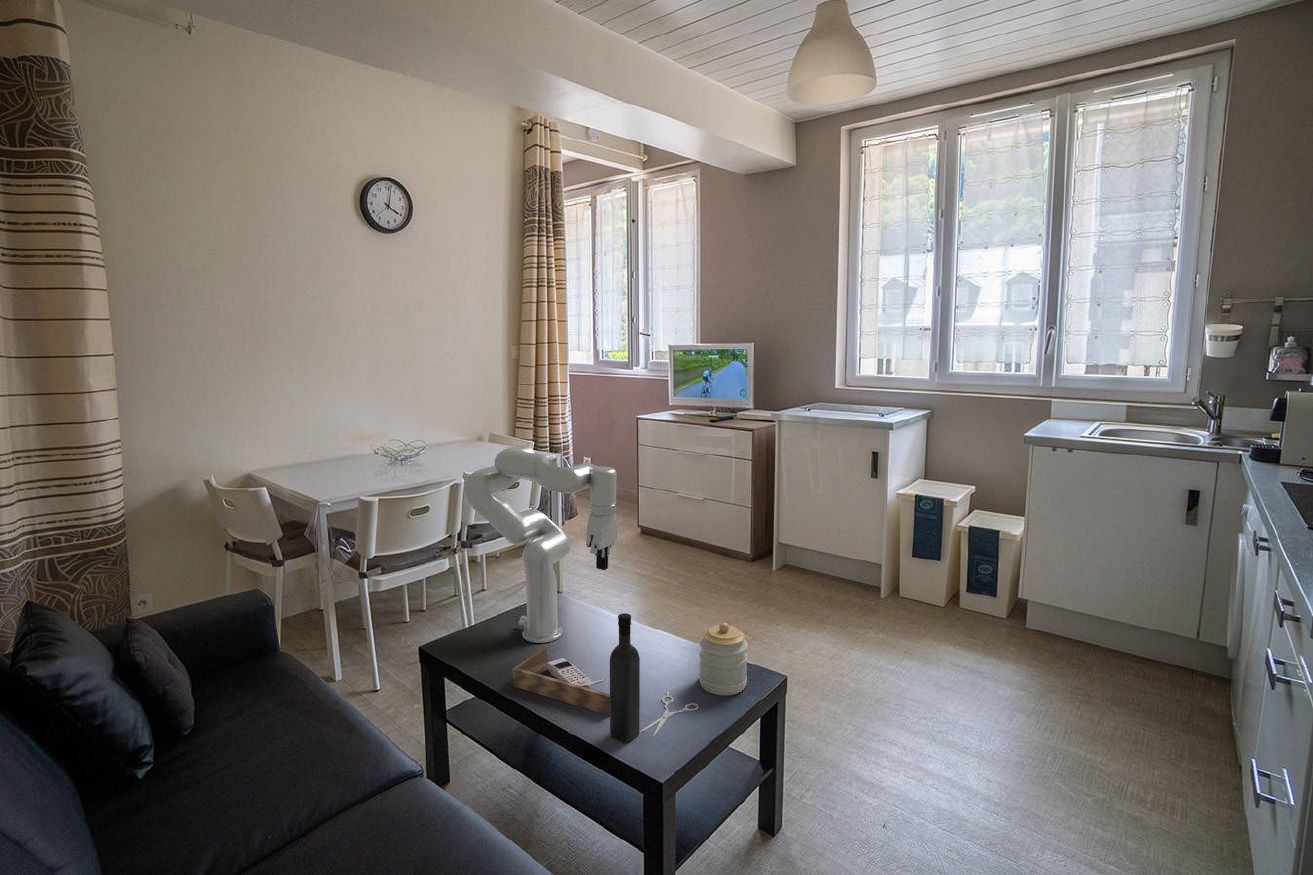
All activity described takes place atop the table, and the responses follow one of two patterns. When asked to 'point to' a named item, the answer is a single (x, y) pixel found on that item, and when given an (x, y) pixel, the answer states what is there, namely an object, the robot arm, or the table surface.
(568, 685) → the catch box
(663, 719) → the scissors
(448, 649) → the table surface
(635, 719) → the wine bottle
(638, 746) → the table surface
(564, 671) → the mobile phone
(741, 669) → the jar
